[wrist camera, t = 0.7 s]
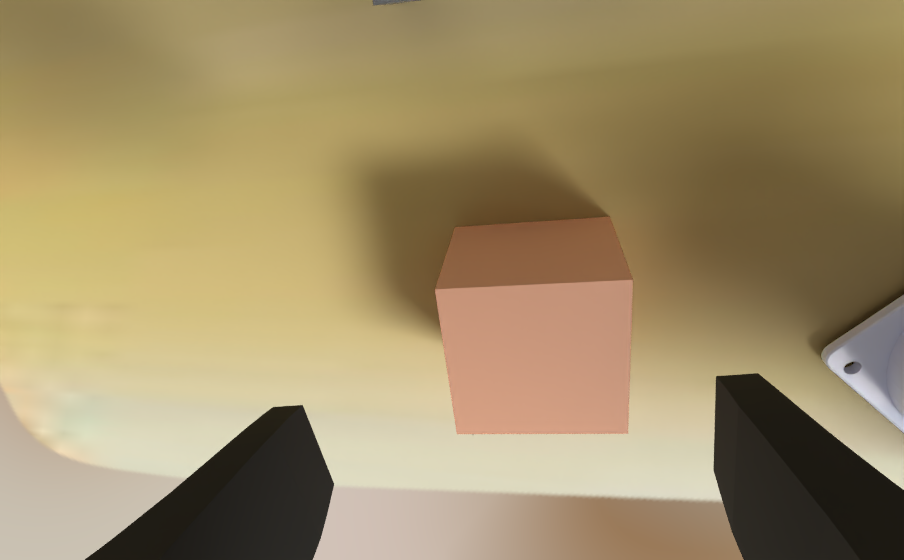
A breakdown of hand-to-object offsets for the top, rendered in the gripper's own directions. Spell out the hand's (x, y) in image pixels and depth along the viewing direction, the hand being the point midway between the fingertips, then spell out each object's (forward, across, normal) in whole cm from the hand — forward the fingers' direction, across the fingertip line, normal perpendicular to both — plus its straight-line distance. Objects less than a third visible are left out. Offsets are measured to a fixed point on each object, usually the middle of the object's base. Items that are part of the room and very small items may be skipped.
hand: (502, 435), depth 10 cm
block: (+10, 0, +2) cm, 10 cm away
